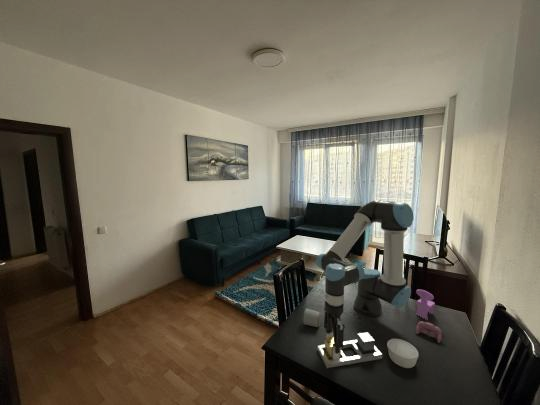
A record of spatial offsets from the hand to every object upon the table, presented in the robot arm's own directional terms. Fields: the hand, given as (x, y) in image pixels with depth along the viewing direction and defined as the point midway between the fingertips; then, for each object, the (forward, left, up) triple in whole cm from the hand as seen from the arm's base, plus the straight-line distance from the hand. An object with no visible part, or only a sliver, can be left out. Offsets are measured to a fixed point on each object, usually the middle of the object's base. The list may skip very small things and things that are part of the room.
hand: (332, 352), depth 93 cm
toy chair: (-64, -18, -2) cm, 67 cm away
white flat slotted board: (-8, 0, -2) cm, 8 cm away
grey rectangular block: (-16, 0, -2) cm, 16 cm away
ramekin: (-28, +6, -2) cm, 29 cm away
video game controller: (-52, -3, -2) cm, 52 cm away
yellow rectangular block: (0, 0, -2) cm, 2 cm away
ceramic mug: (0, -23, -2) cm, 23 cm away
